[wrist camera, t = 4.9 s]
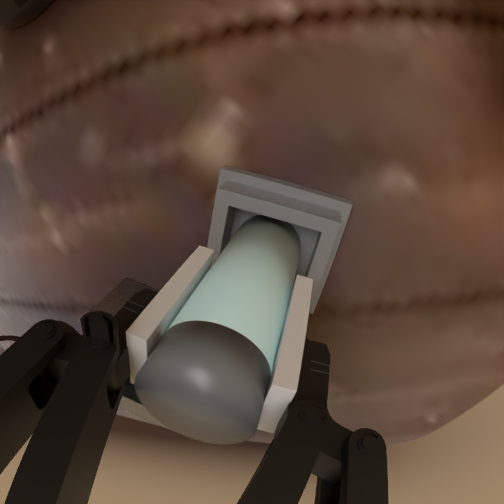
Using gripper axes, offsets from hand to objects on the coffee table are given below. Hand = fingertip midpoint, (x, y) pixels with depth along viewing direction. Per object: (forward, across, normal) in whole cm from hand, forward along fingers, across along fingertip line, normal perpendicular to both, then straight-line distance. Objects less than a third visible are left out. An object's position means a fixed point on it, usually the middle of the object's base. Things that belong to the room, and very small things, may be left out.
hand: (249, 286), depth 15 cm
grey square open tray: (+6, 0, 0) cm, 6 cm away
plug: (+5, 0, 0) cm, 5 cm away
